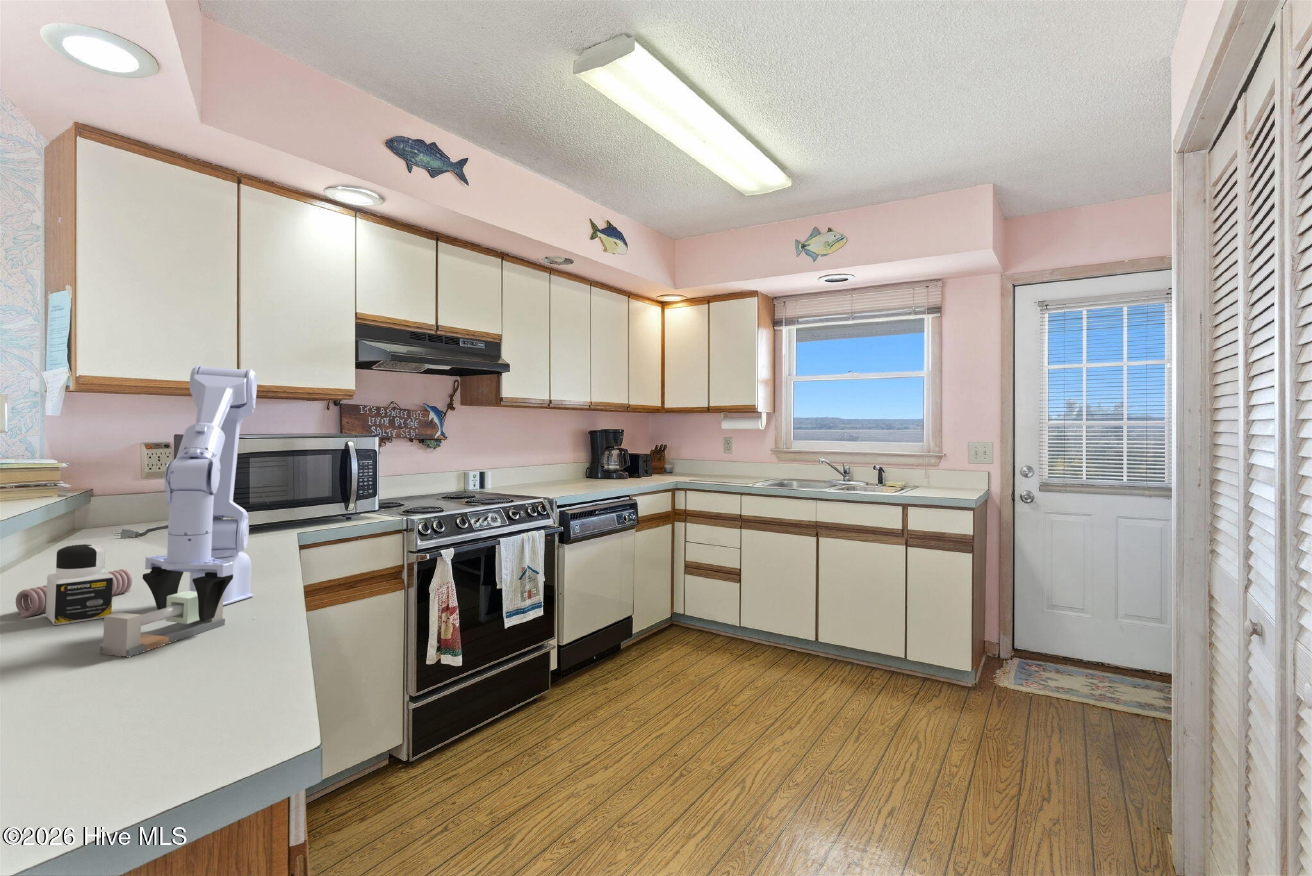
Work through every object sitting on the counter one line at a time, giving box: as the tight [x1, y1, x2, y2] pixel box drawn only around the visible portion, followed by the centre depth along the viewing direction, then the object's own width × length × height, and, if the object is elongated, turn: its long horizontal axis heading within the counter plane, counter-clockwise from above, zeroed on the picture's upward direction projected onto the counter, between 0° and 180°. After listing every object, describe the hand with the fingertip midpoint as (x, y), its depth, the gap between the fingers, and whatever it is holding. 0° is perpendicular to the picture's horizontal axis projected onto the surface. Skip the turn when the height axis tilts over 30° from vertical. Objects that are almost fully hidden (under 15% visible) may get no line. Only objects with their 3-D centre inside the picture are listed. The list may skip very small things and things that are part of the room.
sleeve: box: [165, 590, 199, 624], centre depth 100 cm, size 4×4×4 cm
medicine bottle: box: [45, 543, 113, 626], centre depth 105 cm, size 7×7×12 cm
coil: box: [15, 568, 133, 619], centre depth 112 cm, size 5×5×18 cm
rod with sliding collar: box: [99, 591, 226, 658], centre depth 97 cm, size 16×5×6 cm, turn 170°
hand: (186, 616), depth 100 cm, fingers open, 7 cm apart
